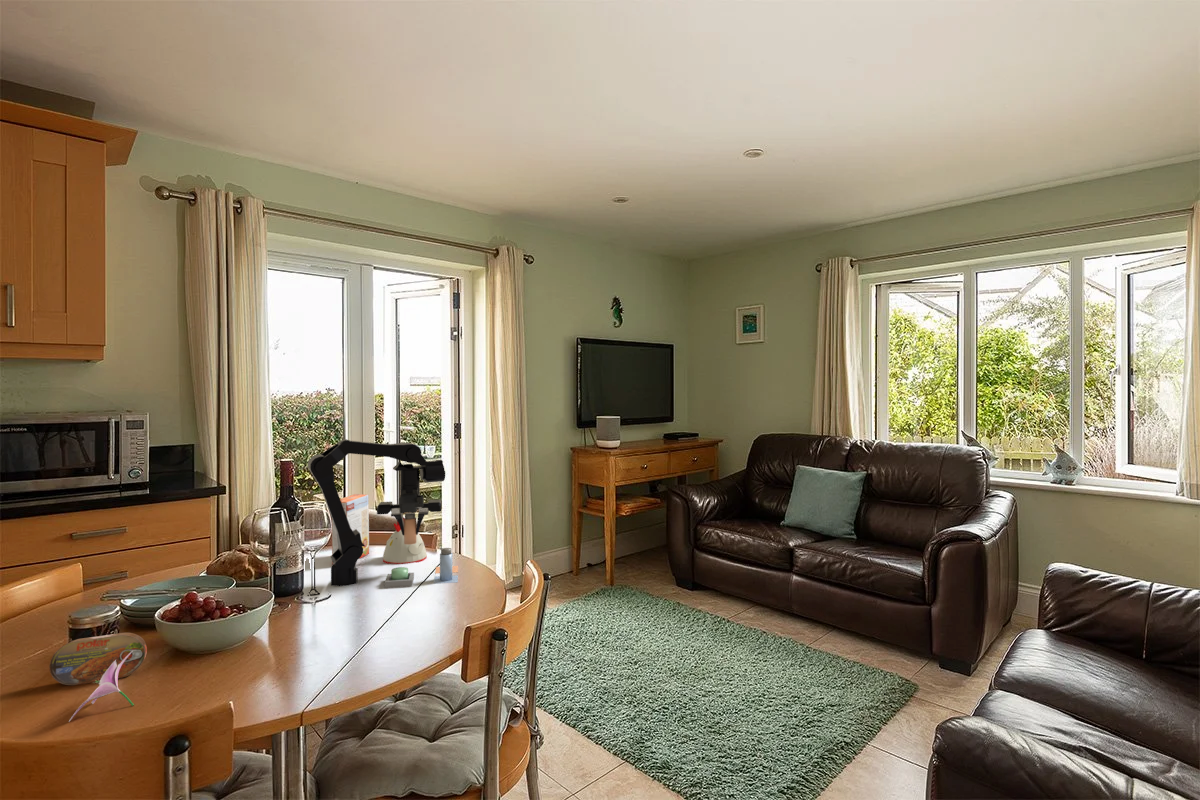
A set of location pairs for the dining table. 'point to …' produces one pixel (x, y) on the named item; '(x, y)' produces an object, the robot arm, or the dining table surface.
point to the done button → (399, 573)
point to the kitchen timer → (403, 549)
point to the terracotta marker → (410, 528)
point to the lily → (107, 684)
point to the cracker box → (355, 520)
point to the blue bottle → (445, 564)
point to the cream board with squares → (409, 581)
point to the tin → (97, 658)
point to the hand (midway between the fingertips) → (410, 534)
